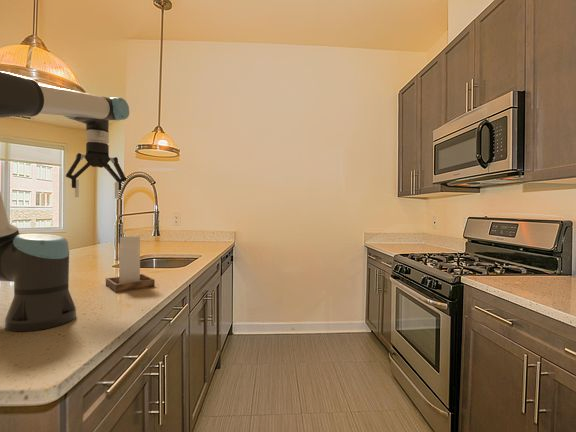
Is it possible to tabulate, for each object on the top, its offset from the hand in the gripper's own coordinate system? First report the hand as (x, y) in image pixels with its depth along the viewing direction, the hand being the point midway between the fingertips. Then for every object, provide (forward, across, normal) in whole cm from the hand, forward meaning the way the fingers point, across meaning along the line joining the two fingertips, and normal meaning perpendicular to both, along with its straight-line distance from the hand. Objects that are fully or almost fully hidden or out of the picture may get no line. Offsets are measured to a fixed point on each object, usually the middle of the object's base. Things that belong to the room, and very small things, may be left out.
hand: (97, 197), depth 124 cm
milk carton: (+34, +10, -7) cm, 36 cm away
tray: (+35, +10, -7) cm, 37 cm away
